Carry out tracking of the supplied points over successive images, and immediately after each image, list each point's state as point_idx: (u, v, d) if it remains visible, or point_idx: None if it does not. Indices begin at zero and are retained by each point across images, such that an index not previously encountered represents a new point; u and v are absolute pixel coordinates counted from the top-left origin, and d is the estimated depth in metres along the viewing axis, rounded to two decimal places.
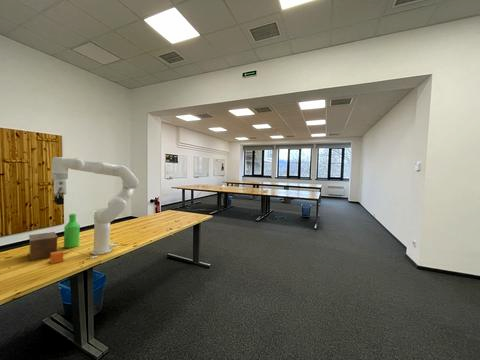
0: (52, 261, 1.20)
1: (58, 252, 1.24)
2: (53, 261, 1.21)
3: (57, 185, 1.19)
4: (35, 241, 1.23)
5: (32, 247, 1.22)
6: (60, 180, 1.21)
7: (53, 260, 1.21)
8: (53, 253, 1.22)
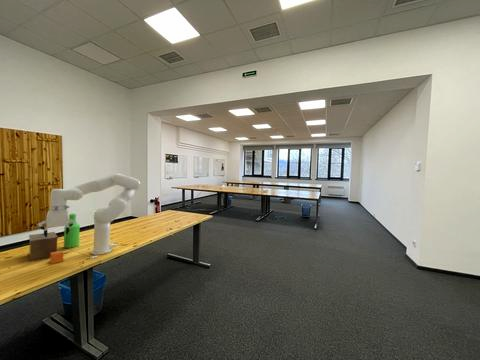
0: (52, 261, 1.20)
1: (58, 252, 1.24)
2: (53, 261, 1.21)
3: None
4: (35, 241, 1.23)
5: (32, 247, 1.22)
6: (67, 211, 1.27)
7: (53, 260, 1.21)
8: (53, 253, 1.22)
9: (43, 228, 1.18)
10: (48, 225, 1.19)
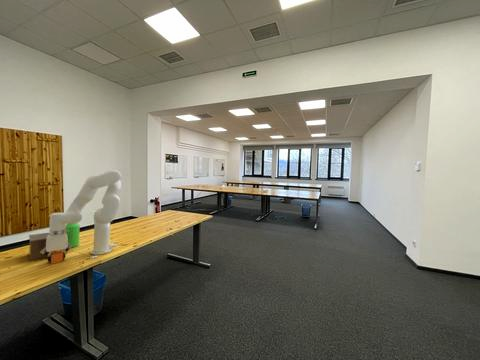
0: (52, 261, 1.20)
1: (58, 252, 1.24)
2: (53, 261, 1.21)
3: (67, 239, 1.26)
4: (35, 241, 1.23)
5: (32, 247, 1.22)
6: None
7: (53, 260, 1.21)
8: (53, 253, 1.22)
9: (47, 254, 1.20)
10: (48, 250, 1.19)
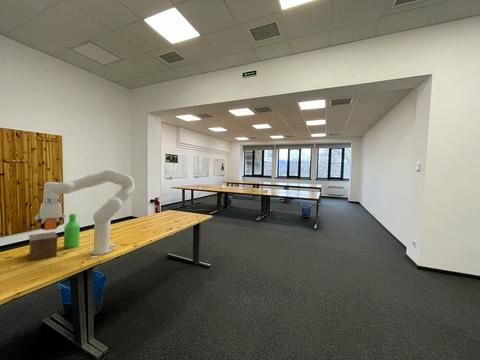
0: (45, 228, 1.24)
1: (51, 220, 1.28)
2: (46, 228, 1.24)
3: None
4: (35, 241, 1.23)
5: (32, 247, 1.22)
6: (60, 203, 1.31)
7: (46, 227, 1.24)
8: (46, 221, 1.26)
9: (40, 221, 1.24)
10: (41, 217, 1.23)
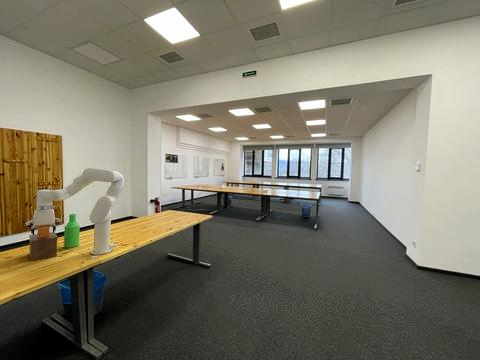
0: (39, 235, 1.28)
1: (45, 227, 1.32)
2: (40, 235, 1.29)
3: None
4: (35, 241, 1.23)
5: (32, 247, 1.22)
6: (53, 210, 1.35)
7: (40, 234, 1.29)
8: (40, 228, 1.30)
9: (30, 226, 1.27)
10: (35, 224, 1.27)
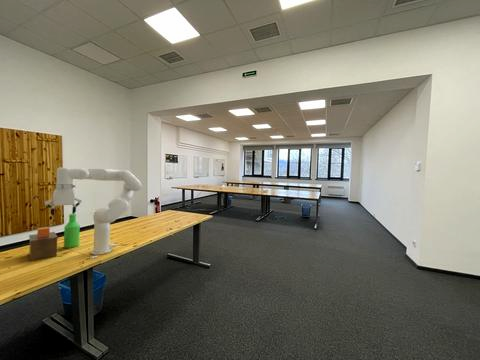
0: (39, 235, 1.28)
1: (45, 227, 1.32)
2: (40, 235, 1.29)
3: (74, 195, 1.25)
4: (35, 241, 1.23)
5: (32, 247, 1.22)
6: (73, 190, 1.26)
7: (40, 234, 1.29)
8: (40, 228, 1.30)
9: (50, 206, 1.17)
10: (55, 203, 1.18)
